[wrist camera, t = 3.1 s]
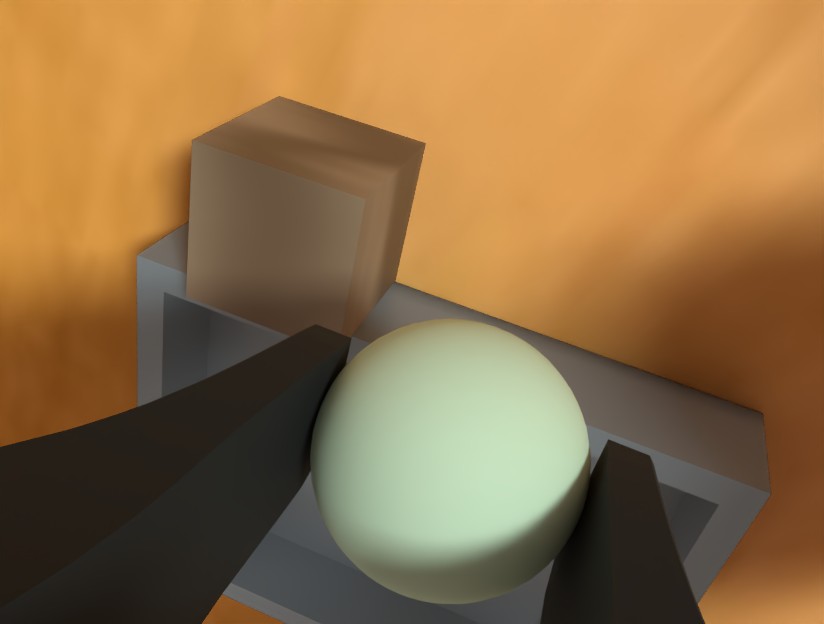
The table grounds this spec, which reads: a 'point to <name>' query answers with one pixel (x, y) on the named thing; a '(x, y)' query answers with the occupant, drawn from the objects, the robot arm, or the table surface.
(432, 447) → the green ball
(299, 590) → the serving tray
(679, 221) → the table surface
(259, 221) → the walnut cube
